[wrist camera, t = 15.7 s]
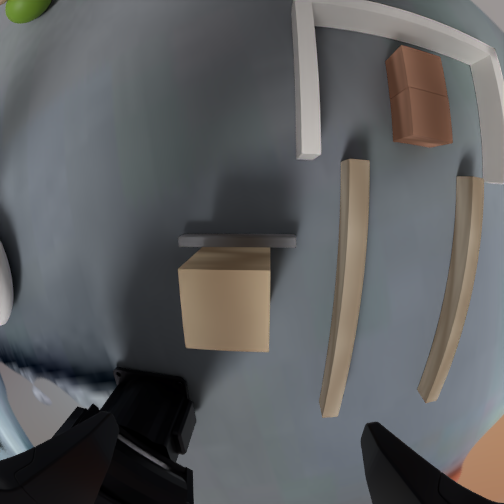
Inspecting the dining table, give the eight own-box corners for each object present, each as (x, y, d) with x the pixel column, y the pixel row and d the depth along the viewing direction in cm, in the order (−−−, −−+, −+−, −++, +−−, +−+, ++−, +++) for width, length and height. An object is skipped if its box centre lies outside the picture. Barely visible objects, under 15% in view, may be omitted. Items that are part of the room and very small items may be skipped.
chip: (389, 99, 15) (408, 86, 12) (384, 62, 15) (401, 45, 12) (425, 107, 15) (447, 97, 12) (420, 70, 14) (440, 57, 12)
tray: (296, 159, 17) (301, 153, 14) (291, 14, 14) (293, -10, 11) (490, 183, 16) (515, 185, 13) (475, 59, 13) (495, 49, 10)
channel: (319, 401, 20) (322, 417, 18) (340, 161, 16) (349, 158, 14) (427, 387, 20) (436, 400, 18) (467, 178, 16) (483, 178, 14)
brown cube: (392, 141, 16) (413, 134, 13) (389, 99, 15) (408, 86, 12) (429, 147, 16) (452, 143, 13) (425, 107, 15) (448, 97, 12)
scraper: (188, 301, 19) (157, 345, 13) (183, 233, 18) (145, 255, 12) (292, 303, 19) (300, 351, 13) (294, 234, 18) (306, 256, 12)
